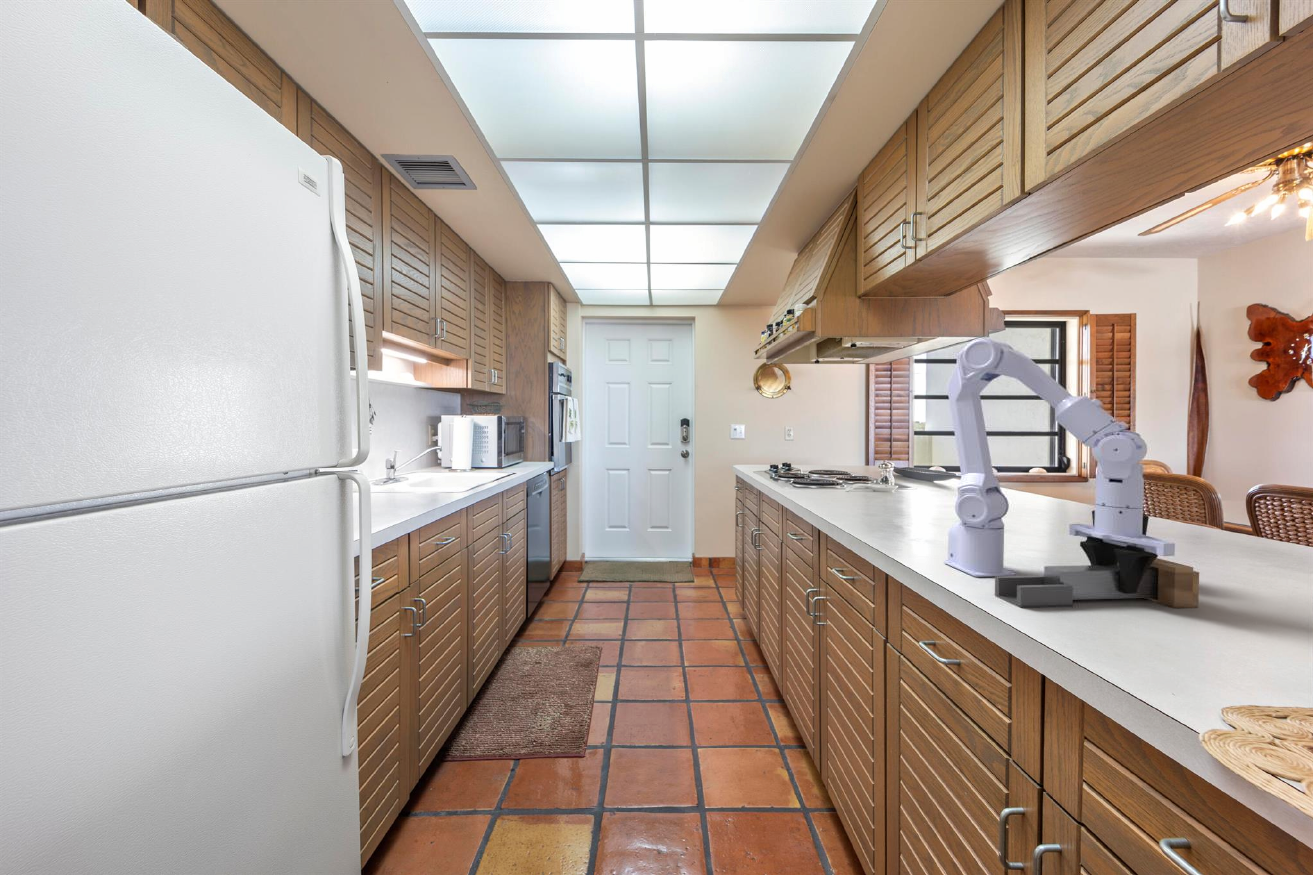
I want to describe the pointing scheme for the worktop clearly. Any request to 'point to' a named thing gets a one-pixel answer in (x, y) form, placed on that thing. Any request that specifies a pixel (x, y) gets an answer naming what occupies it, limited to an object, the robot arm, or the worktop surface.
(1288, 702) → the worktop surface
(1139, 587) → the bar
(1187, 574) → the socket
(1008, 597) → the grey u-shaped channel
